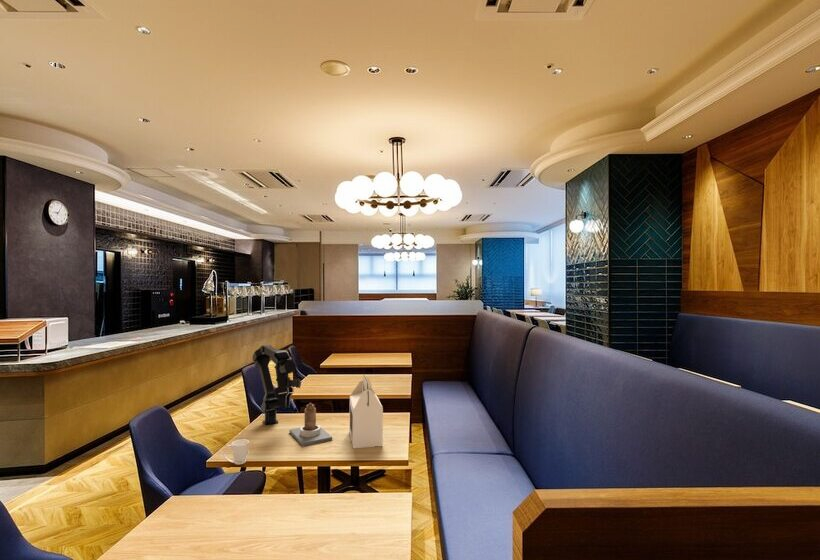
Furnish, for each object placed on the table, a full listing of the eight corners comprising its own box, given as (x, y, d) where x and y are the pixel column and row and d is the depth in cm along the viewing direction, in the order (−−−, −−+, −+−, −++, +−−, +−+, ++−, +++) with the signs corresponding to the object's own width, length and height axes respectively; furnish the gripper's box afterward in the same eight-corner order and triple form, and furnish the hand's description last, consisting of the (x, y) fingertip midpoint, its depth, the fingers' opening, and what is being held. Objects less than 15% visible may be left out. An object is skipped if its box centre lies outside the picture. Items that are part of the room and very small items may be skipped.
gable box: (382, 446, 186) (383, 383, 186) (353, 448, 183) (353, 385, 184) (376, 429, 208) (376, 373, 208) (349, 431, 205) (349, 374, 205)
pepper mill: (302, 433, 197) (302, 403, 196) (309, 430, 201) (309, 400, 201) (311, 435, 195) (311, 405, 194) (318, 431, 199) (318, 402, 199)
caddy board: (289, 432, 203) (289, 424, 203) (317, 427, 210) (317, 419, 210) (302, 446, 186) (302, 437, 186) (332, 440, 193) (332, 431, 193)
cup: (246, 465, 166) (246, 445, 166) (220, 466, 165) (220, 446, 165) (251, 458, 173) (251, 438, 173) (226, 459, 172) (226, 439, 172)
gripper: (296, 371, 199) (300, 405, 195) (301, 373, 217) (305, 404, 213) (272, 376, 197) (276, 410, 193) (279, 377, 215) (283, 409, 211)
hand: (286, 408), depth 203 cm, fingers open, 9 cm apart
